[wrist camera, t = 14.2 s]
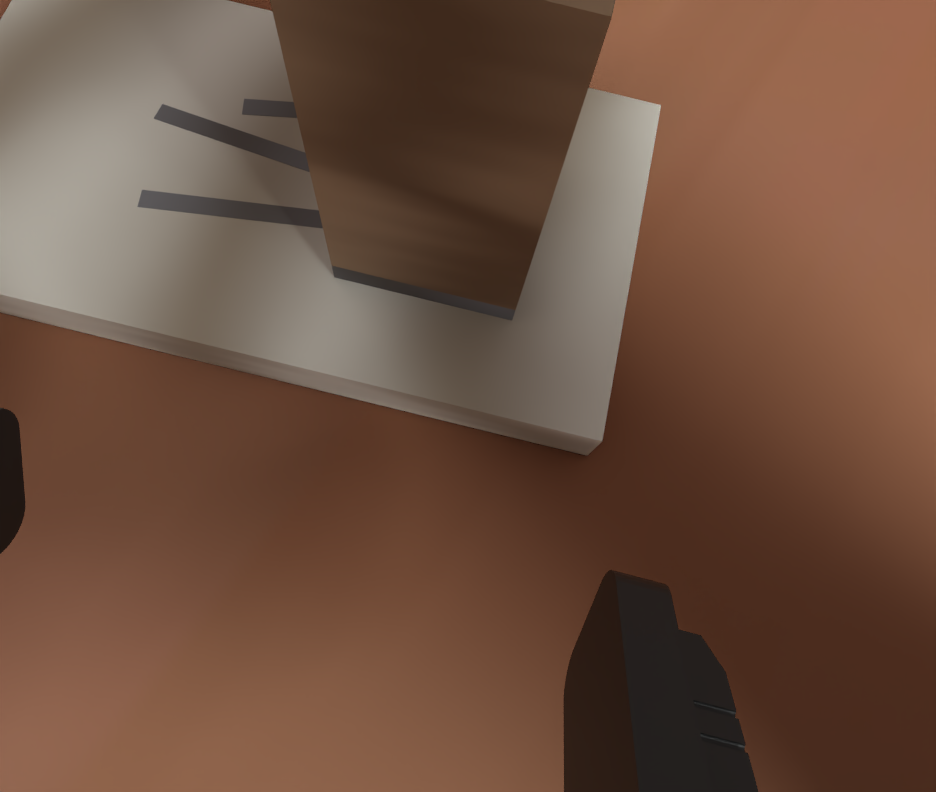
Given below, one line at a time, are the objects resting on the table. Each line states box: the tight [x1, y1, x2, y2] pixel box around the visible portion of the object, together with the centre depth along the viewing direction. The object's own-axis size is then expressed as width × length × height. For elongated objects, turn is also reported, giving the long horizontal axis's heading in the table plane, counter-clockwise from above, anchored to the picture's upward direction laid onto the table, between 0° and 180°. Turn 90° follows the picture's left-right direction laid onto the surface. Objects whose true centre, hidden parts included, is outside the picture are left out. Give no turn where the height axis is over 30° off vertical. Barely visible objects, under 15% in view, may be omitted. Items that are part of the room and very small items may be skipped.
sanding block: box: [270, 0, 615, 321], centre depth 13 cm, size 4×5×9 cm
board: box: [0, 0, 661, 456], centre depth 18 cm, size 18×10×2 cm, turn 77°
